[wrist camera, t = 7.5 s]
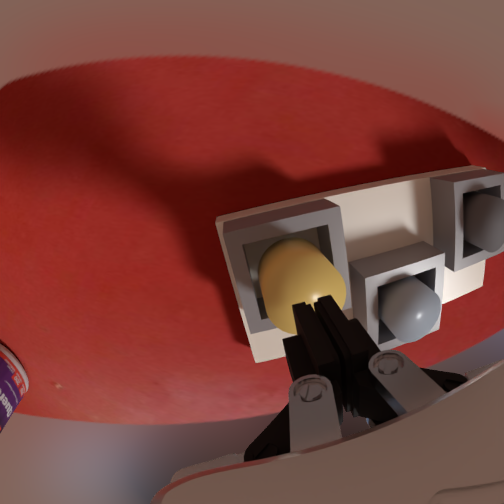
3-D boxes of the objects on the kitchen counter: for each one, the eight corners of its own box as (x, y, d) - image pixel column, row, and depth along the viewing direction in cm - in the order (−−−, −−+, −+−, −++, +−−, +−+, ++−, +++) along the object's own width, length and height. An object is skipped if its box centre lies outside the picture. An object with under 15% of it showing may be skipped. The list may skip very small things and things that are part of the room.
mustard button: (318, 230, 18) (341, 251, 14) (327, 291, 19) (348, 322, 15) (250, 246, 18) (256, 272, 14) (265, 306, 19) (274, 343, 15)
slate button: (414, 262, 21) (443, 282, 17) (413, 307, 22) (438, 331, 18) (368, 276, 21) (393, 300, 17) (370, 322, 22) (392, 350, 18)
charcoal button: (478, 186, 19) (510, 194, 15) (479, 232, 21) (508, 245, 17) (447, 192, 19) (480, 202, 15) (448, 242, 21) (478, 258, 17)
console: (471, 165, 21) (508, 171, 16) (471, 278, 25) (500, 298, 20) (216, 216, 21) (212, 235, 16) (253, 348, 25) (259, 387, 20)
